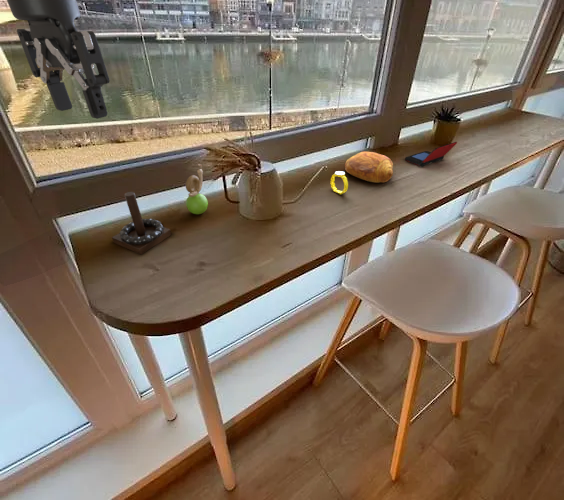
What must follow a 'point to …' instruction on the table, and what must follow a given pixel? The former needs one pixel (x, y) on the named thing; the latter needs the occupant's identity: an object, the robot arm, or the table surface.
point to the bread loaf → (370, 167)
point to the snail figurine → (196, 194)
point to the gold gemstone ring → (342, 175)
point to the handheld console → (430, 155)
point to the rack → (139, 228)
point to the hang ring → (142, 239)
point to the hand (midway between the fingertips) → (82, 113)
